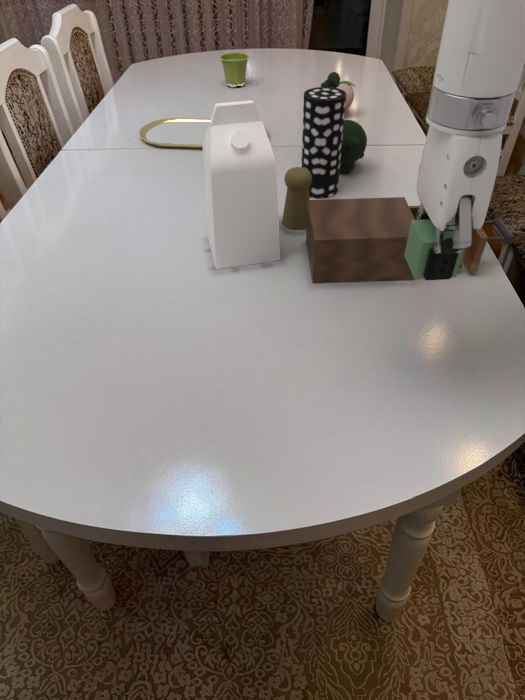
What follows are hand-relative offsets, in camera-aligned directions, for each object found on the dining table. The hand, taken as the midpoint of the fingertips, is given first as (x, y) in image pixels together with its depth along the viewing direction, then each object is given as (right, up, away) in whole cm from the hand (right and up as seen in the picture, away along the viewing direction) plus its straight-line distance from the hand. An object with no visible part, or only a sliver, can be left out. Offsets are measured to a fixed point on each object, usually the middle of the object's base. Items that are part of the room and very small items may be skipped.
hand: (430, 263), depth 60 cm
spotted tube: (-8, +25, +51) cm, 58 cm away
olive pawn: (-13, +15, +41) cm, 46 cm away
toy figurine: (-2, +36, +62) cm, 72 cm away
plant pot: (-29, +78, +106) cm, 135 cm away
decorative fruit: (+1, +58, +84) cm, 102 cm away
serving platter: (-36, +47, +75) cm, 96 cm away
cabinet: (-3, +6, +31) cm, 32 cm away
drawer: (+12, +7, +30) cm, 33 cm away
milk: (-24, +9, +34) cm, 43 cm away
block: (0, 0, 0) cm, 0 cm away
